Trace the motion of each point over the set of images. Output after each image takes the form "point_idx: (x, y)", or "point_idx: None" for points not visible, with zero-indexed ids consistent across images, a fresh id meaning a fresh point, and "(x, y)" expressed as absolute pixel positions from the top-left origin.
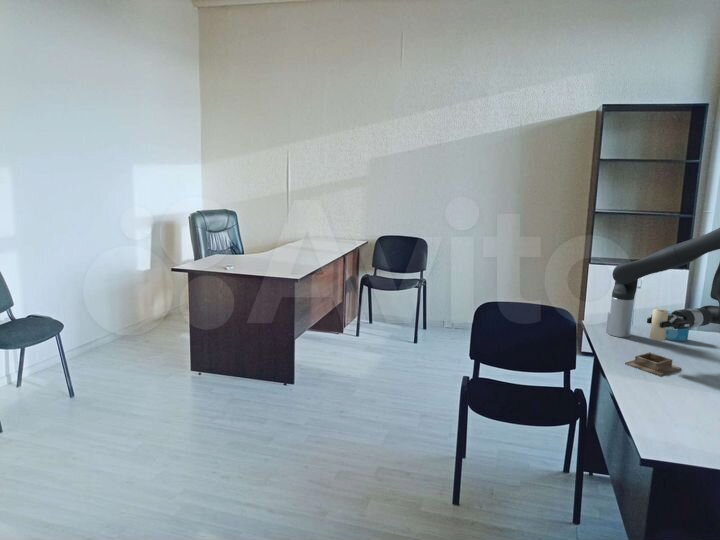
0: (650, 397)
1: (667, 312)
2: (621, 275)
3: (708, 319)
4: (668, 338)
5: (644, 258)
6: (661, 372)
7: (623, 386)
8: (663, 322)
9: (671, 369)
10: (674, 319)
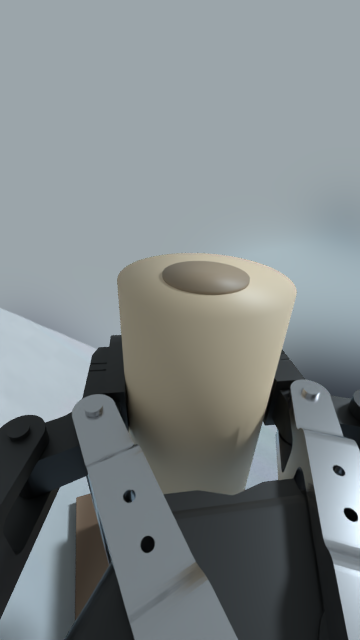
0: (4, 368)
1: (119, 289)
2: None
3: None
4: None
5: None
6: (89, 530)
7: (82, 358)
8: (110, 346)
9: None
10: (86, 464)
